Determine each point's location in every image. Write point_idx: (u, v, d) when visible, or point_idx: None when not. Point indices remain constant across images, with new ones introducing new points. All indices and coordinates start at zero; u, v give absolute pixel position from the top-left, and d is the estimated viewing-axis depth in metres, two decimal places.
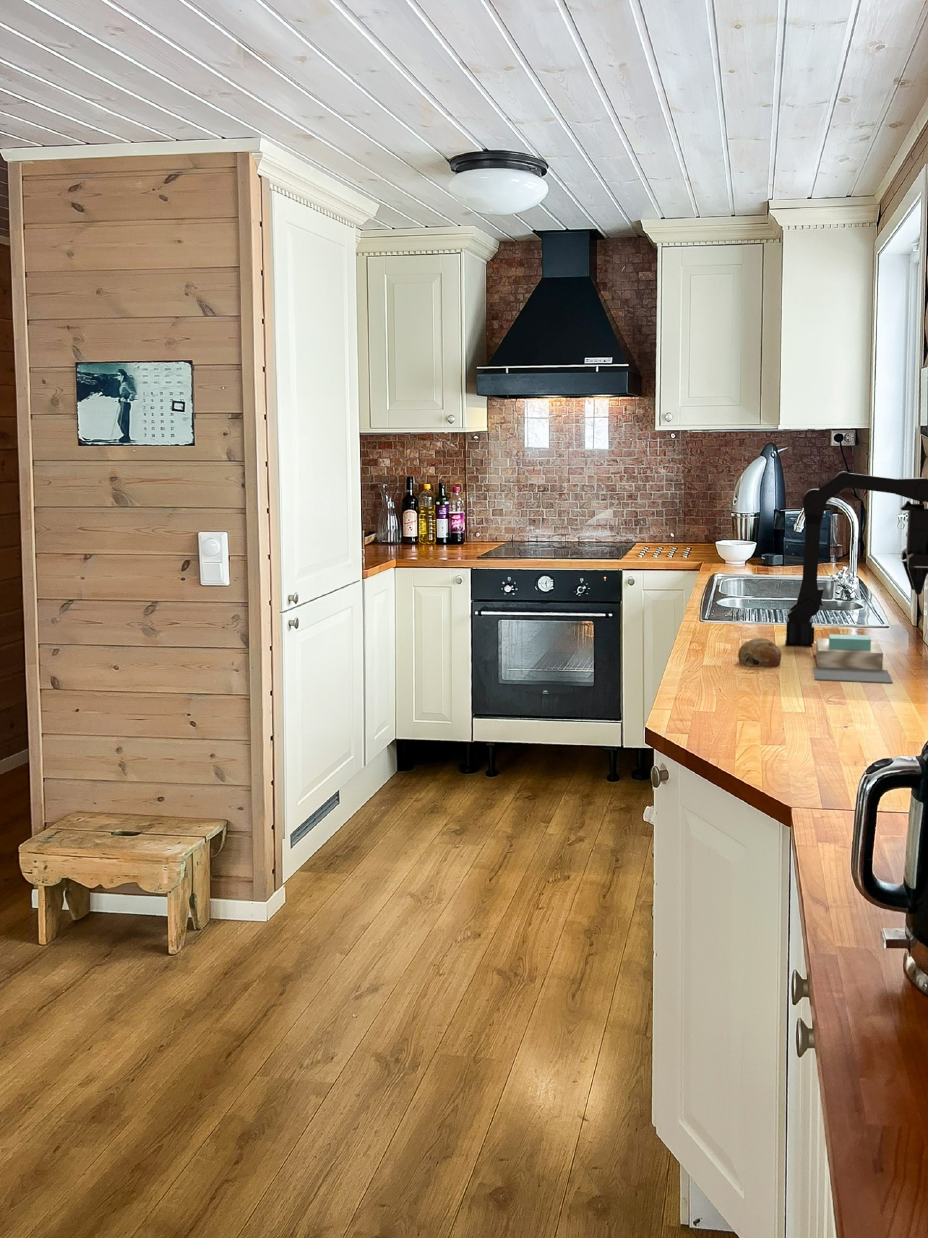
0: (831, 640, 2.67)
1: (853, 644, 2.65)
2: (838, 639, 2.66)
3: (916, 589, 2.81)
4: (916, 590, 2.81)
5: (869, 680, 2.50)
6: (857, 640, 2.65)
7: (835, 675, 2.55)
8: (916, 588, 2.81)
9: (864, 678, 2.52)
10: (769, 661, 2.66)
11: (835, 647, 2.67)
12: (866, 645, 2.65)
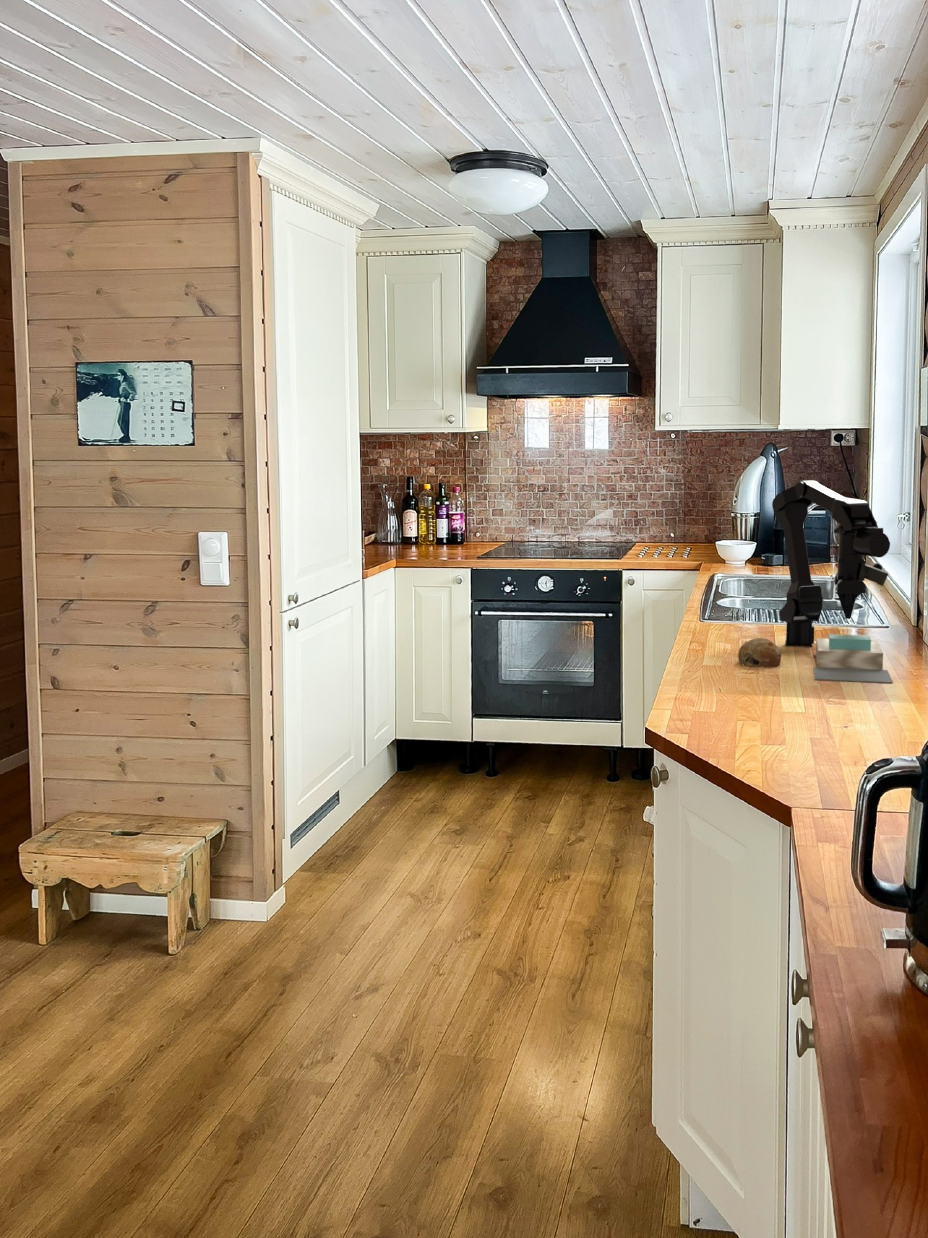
0: (831, 640, 2.67)
1: (853, 644, 2.65)
2: (838, 639, 2.66)
3: (845, 613, 2.76)
4: (845, 614, 2.76)
5: (869, 680, 2.50)
6: (857, 640, 2.65)
7: (835, 675, 2.55)
8: (845, 612, 2.76)
9: (864, 678, 2.52)
10: (769, 661, 2.66)
11: (835, 647, 2.67)
12: (866, 645, 2.65)
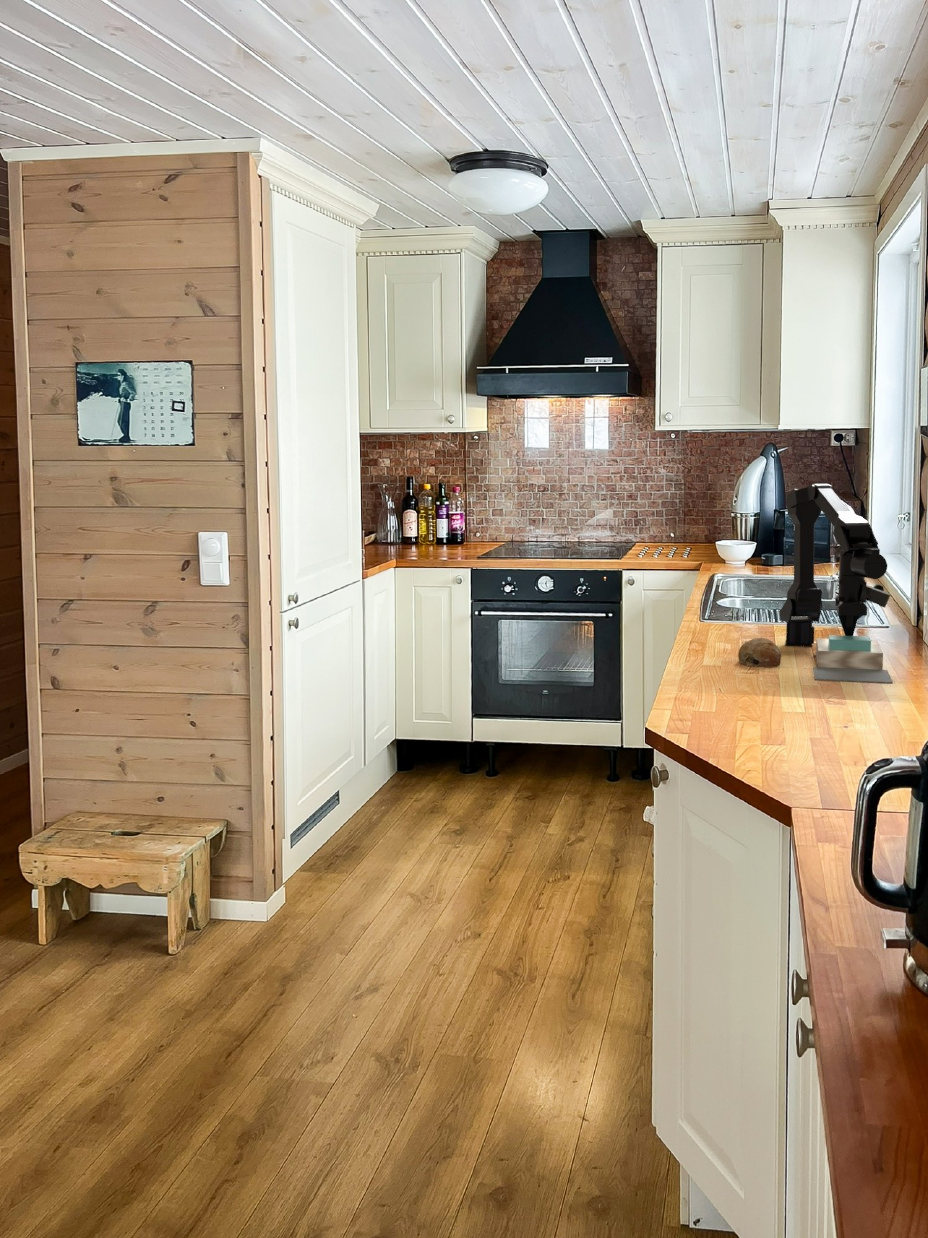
0: (831, 641, 2.65)
1: (853, 645, 2.64)
2: (838, 640, 2.65)
3: (847, 635, 2.70)
4: None
5: (869, 680, 2.50)
6: (857, 641, 2.64)
7: (835, 675, 2.55)
8: (847, 634, 2.70)
9: (864, 678, 2.52)
10: (769, 661, 2.67)
11: (835, 648, 2.65)
12: (866, 646, 2.64)
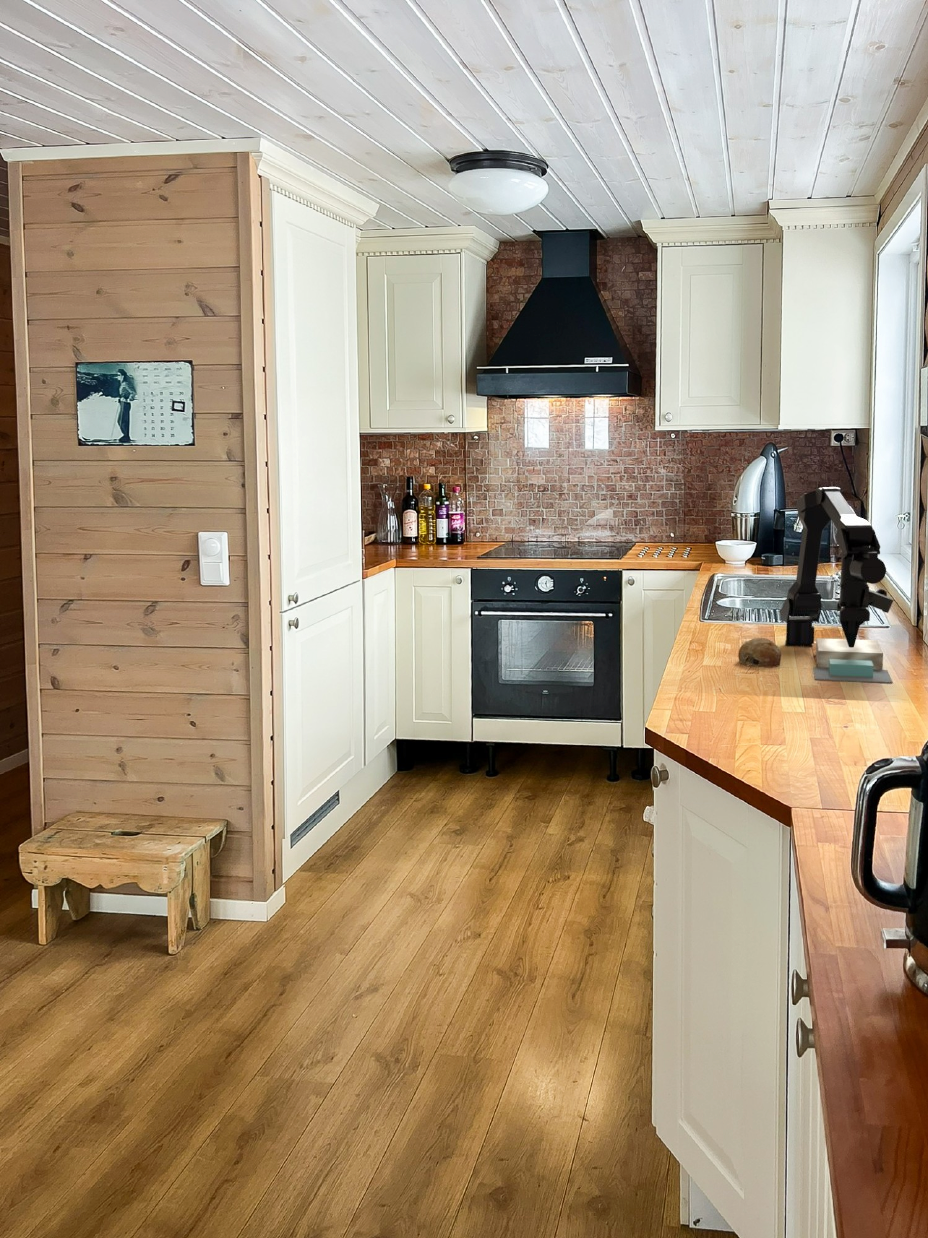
0: None
1: None
2: None
3: (849, 642, 2.62)
4: (849, 643, 2.62)
5: (869, 680, 2.50)
6: None
7: (835, 675, 2.55)
8: (849, 641, 2.62)
9: (864, 678, 2.52)
10: (769, 661, 2.67)
11: None
12: None
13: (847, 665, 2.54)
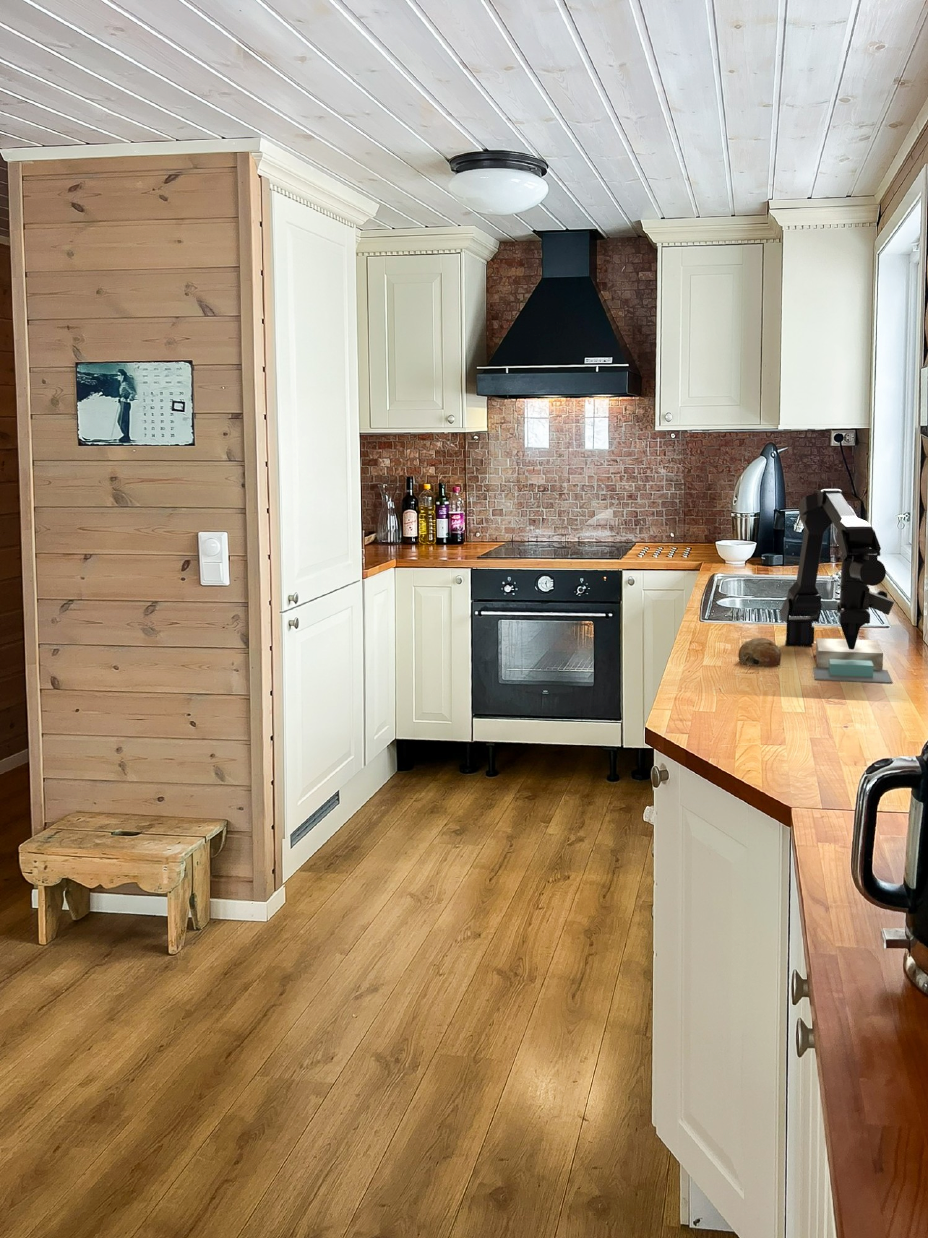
0: None
1: None
2: None
3: (849, 644, 2.60)
4: (849, 645, 2.60)
5: (869, 680, 2.50)
6: None
7: (835, 675, 2.55)
8: (849, 643, 2.60)
9: (864, 678, 2.52)
10: (770, 660, 2.67)
11: None
12: None
13: (847, 665, 2.54)
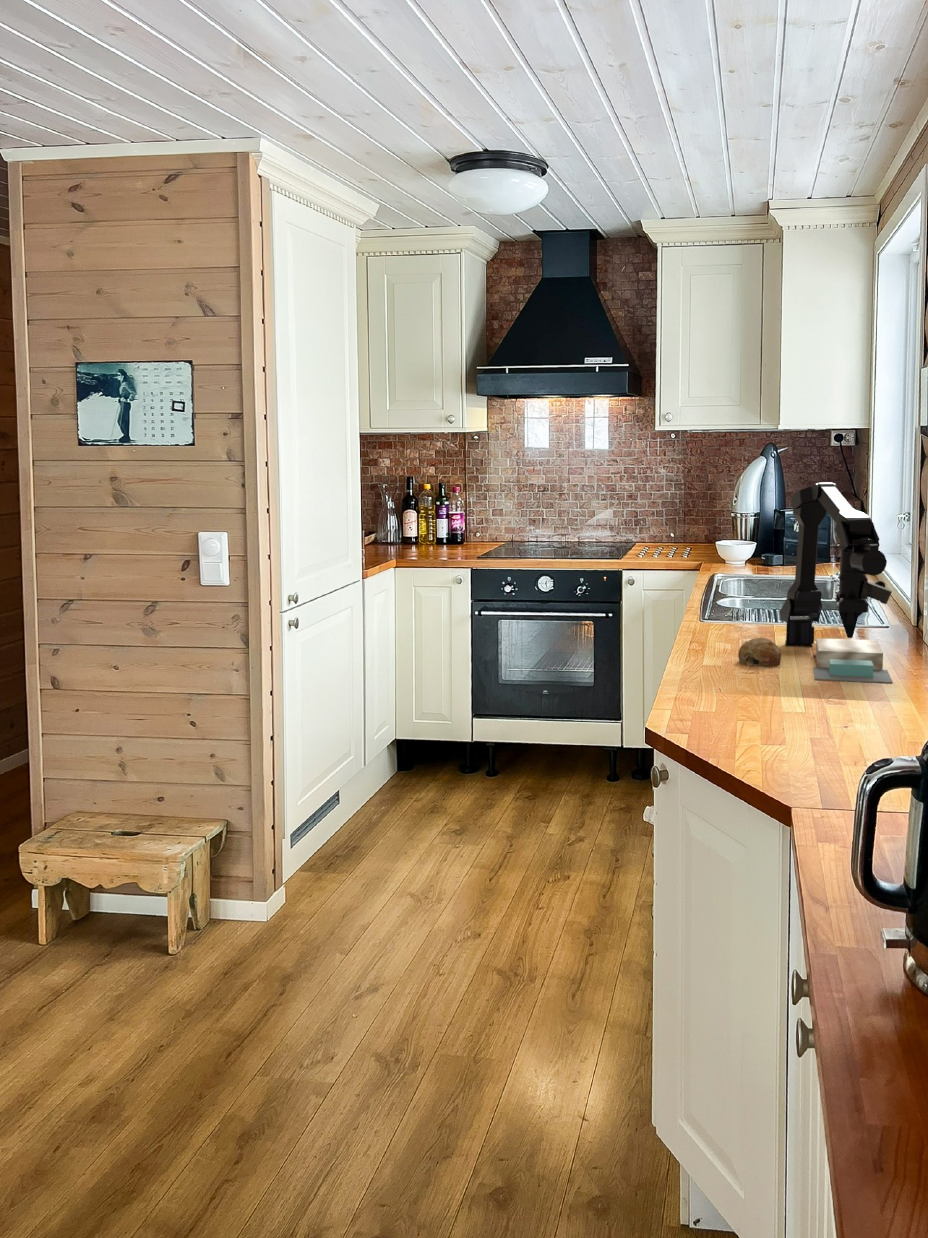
0: None
1: None
2: None
3: (847, 632, 2.66)
4: (847, 633, 2.66)
5: (869, 680, 2.50)
6: None
7: (835, 675, 2.55)
8: (847, 631, 2.66)
9: (864, 678, 2.52)
10: (770, 660, 2.67)
11: None
12: None
13: (847, 665, 2.54)
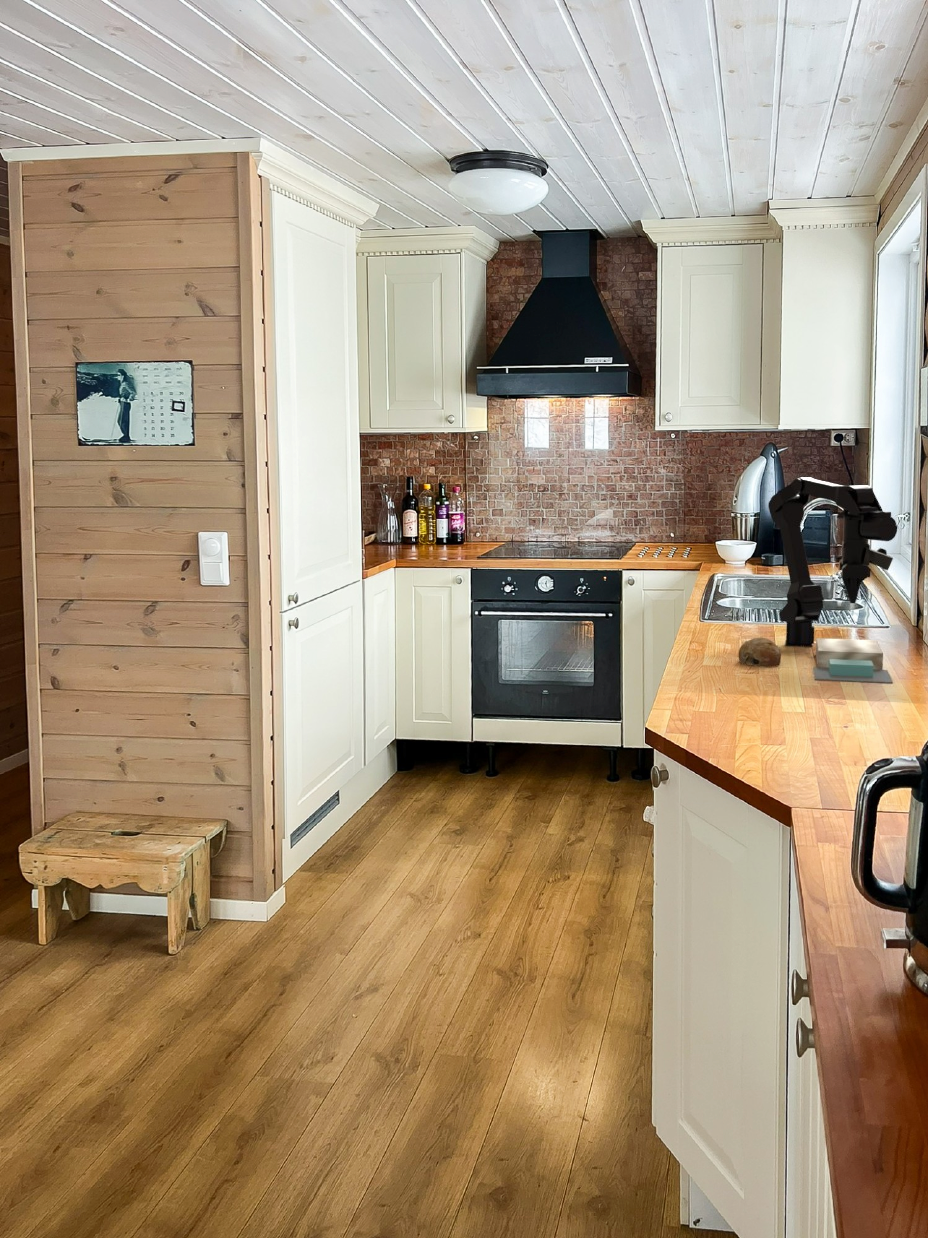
0: None
1: None
2: None
3: (850, 598, 2.77)
4: (850, 599, 2.77)
5: (869, 680, 2.50)
6: None
7: (835, 675, 2.55)
8: (850, 597, 2.77)
9: (864, 678, 2.52)
10: (770, 660, 2.67)
11: None
12: None
13: (847, 665, 2.54)
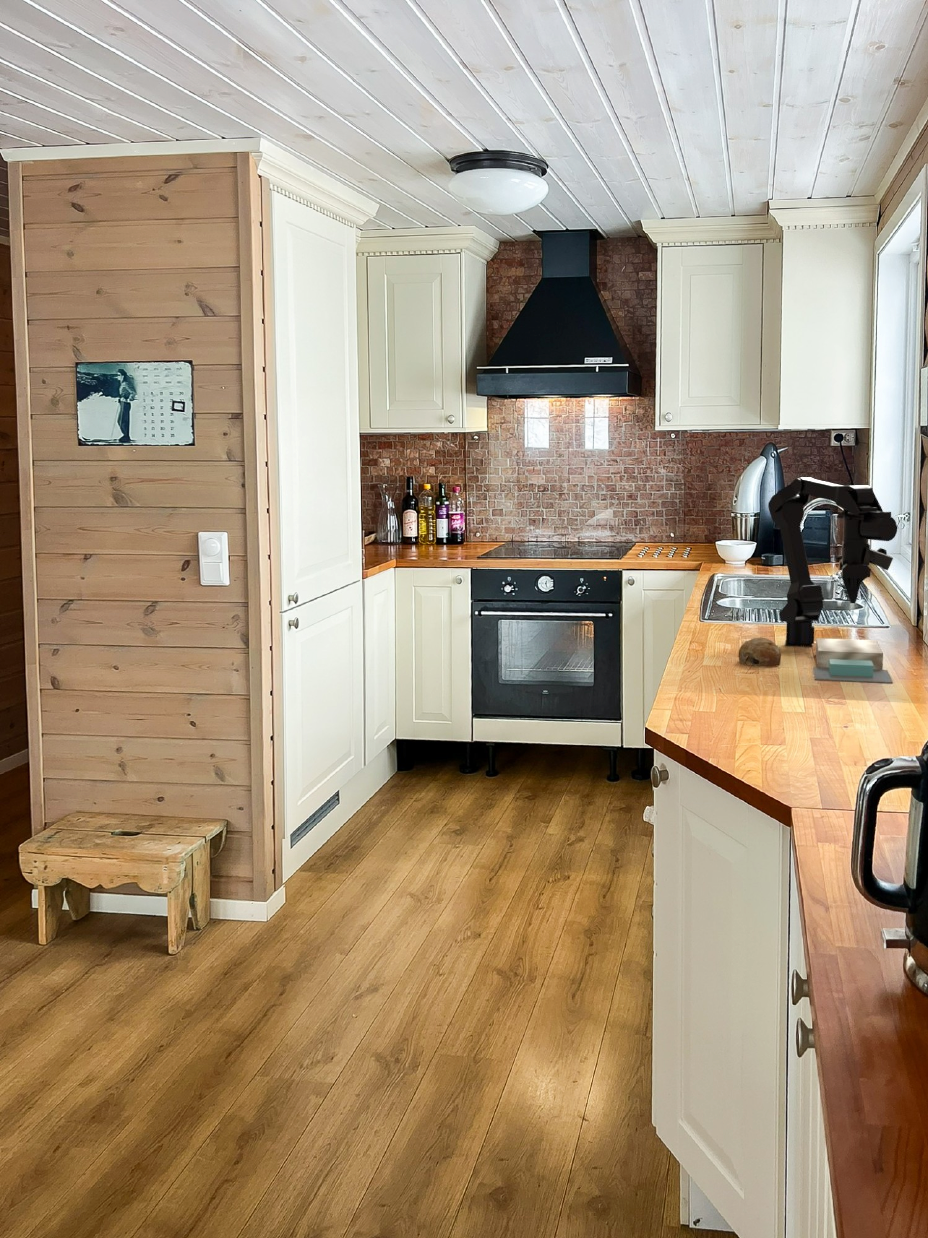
0: None
1: None
2: None
3: (850, 598, 2.77)
4: (850, 599, 2.77)
5: (869, 680, 2.50)
6: None
7: (835, 675, 2.55)
8: (850, 597, 2.77)
9: (864, 678, 2.52)
10: (770, 660, 2.67)
11: None
12: None
13: (847, 665, 2.54)
